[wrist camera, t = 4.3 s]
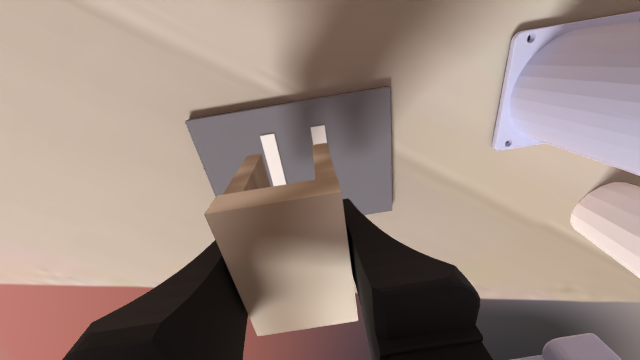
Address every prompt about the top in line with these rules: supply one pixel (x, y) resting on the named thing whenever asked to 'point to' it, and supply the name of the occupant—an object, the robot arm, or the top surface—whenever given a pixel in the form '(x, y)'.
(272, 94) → the top surface
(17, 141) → the top surface
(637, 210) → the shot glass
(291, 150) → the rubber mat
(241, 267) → the two-pronged tan block
